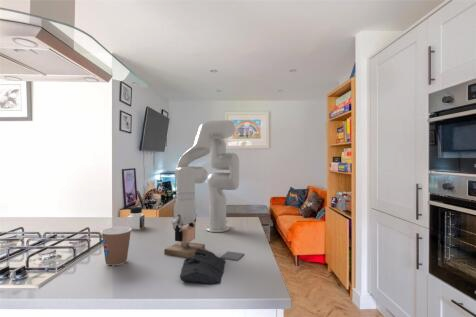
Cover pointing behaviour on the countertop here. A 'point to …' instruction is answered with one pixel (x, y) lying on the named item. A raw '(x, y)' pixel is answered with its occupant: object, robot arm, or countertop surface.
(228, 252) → the mat
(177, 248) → the square brown stand
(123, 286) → the countertop surface
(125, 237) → the coffee cup
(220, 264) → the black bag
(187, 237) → the peach colored cube
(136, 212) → the medicine bottle
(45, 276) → the countertop surface
